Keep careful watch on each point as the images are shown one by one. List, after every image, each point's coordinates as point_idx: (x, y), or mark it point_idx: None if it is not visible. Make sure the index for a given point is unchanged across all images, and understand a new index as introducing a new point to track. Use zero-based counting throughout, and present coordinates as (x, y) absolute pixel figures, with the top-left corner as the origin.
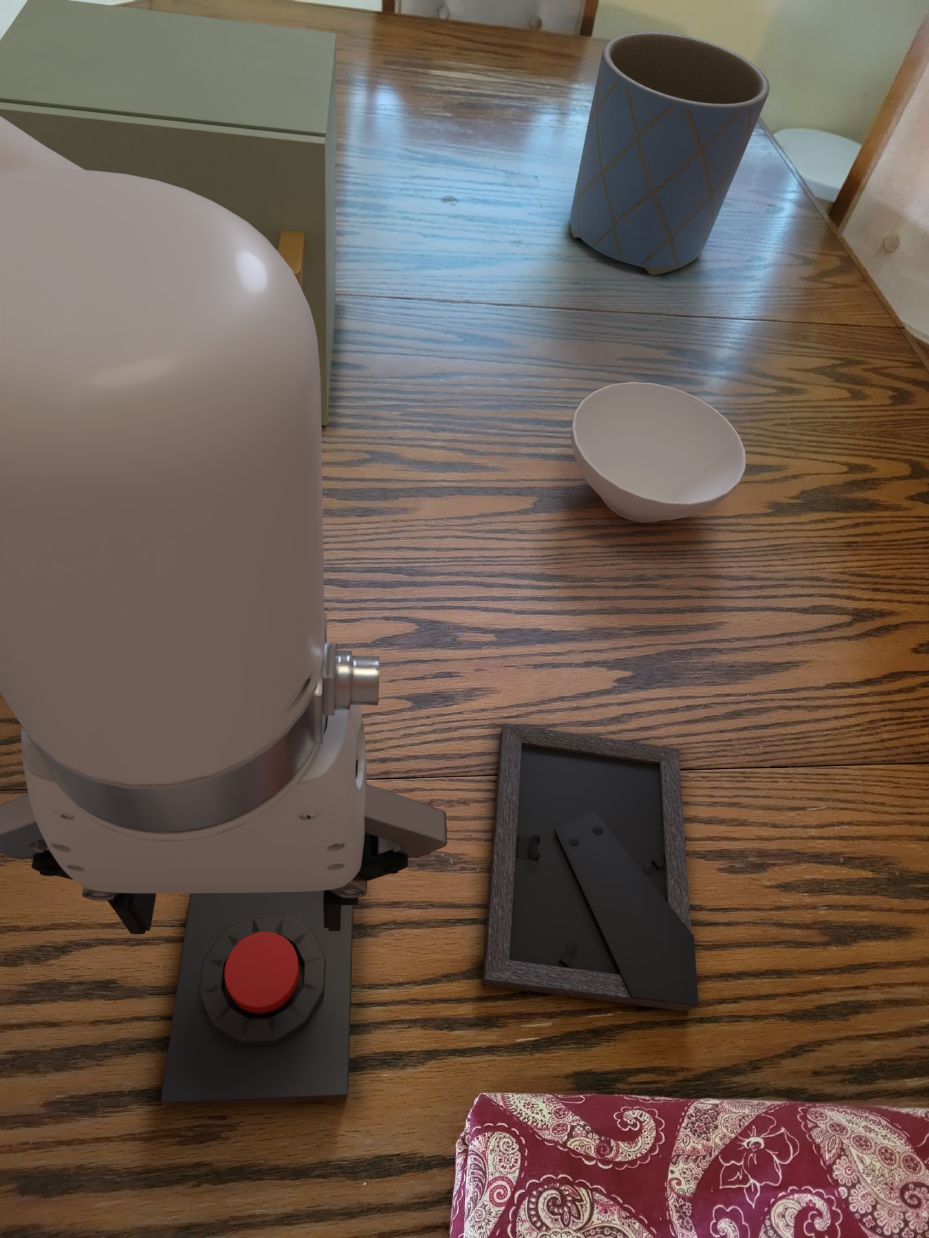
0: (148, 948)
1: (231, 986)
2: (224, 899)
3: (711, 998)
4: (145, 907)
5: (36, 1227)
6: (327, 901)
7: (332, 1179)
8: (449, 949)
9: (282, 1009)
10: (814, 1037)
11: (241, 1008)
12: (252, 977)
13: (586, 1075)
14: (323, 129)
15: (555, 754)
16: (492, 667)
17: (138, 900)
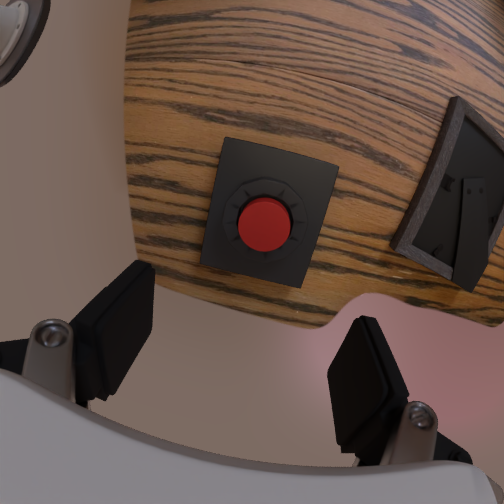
0: (196, 167)
1: (241, 233)
2: (245, 154)
3: None
4: (136, 345)
5: None
6: (342, 446)
7: (282, 306)
8: (380, 220)
9: None
10: (490, 305)
11: None
12: (256, 231)
13: (413, 298)
14: None
15: (477, 131)
16: (454, 53)
17: (120, 375)
